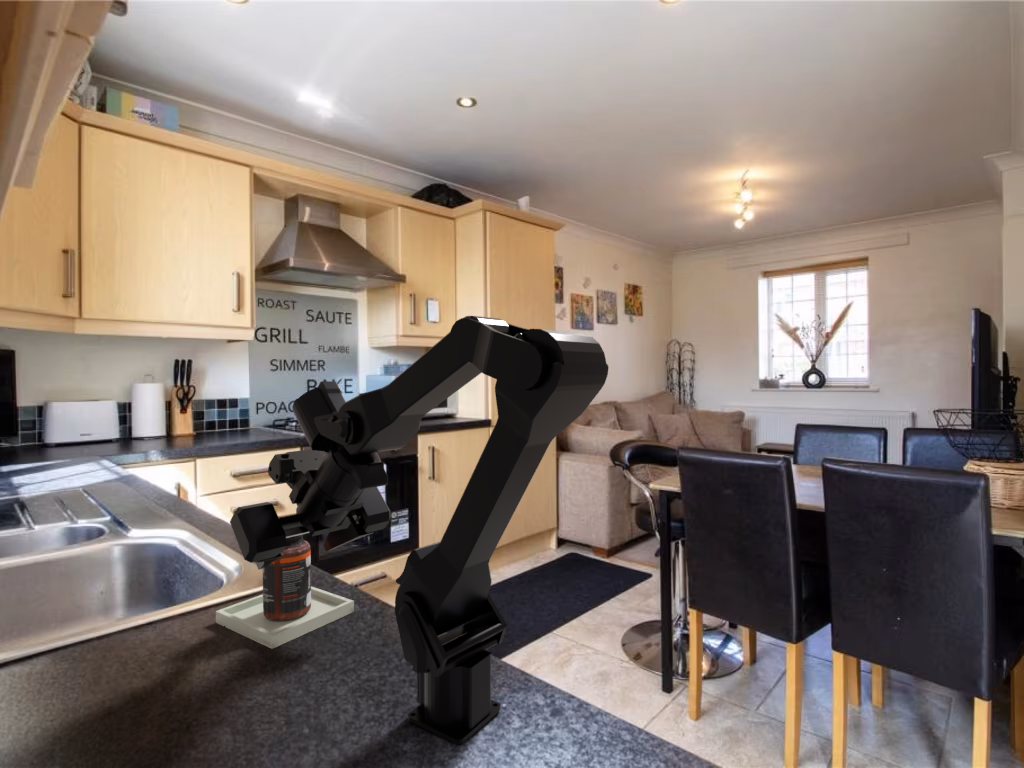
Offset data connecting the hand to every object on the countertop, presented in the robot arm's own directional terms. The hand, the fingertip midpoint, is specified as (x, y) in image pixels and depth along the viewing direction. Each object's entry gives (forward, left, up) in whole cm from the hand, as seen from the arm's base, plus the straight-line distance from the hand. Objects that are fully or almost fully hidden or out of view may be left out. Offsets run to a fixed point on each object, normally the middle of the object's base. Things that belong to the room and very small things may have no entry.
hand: (293, 556), depth 73 cm
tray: (+2, 0, -9) cm, 9 cm away
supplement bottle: (+2, 0, -8) cm, 8 cm away
